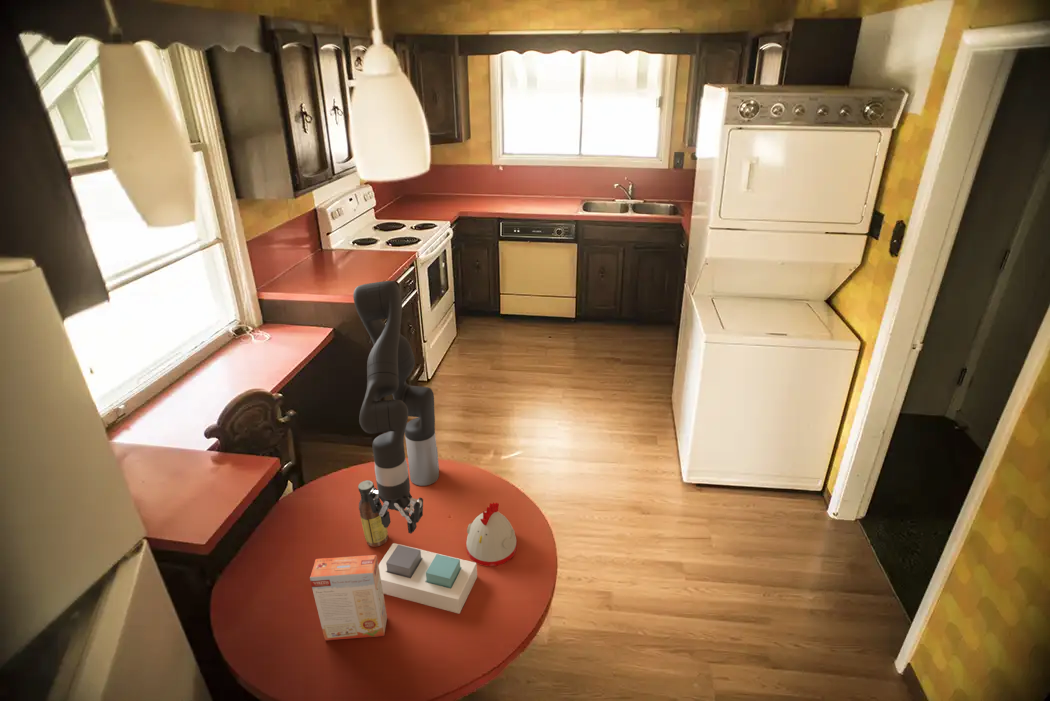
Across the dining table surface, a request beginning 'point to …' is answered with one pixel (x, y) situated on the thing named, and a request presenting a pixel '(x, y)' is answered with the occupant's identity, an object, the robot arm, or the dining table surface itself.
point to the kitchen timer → (491, 538)
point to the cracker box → (349, 597)
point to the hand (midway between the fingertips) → (399, 528)
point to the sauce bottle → (371, 518)
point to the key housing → (428, 592)
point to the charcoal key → (404, 561)
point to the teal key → (443, 571)
